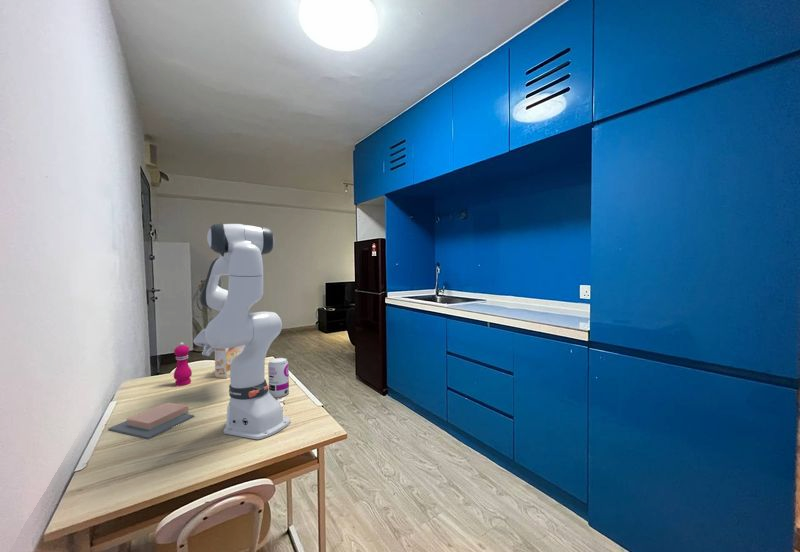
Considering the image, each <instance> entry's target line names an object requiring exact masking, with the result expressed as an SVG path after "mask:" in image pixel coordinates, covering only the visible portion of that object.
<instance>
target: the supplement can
mask: <svg viewBox="0 0 800 552" xmlns="http://www.w3.org/2000/svg"><path fill="white" fill-rule="evenodd" d="M267 366H268V369H267V370H268V385H270V386H269V387H270V388H269V387H268V389H269V390H268V391H269V393H270V394H271V395H272V396H273V397H274V398H275V397H277V398H282V397H281V396H283V397H285V396H287V395H288V394H289V392H290V377H289V376H290V374H289V371H290V370H289V361H288V359H287V358H286V357H276V358H273V359H270V360H269V363H267Z"/></svg>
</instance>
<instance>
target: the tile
mask: <svg viewBox="0 0 800 552" xmlns="http://www.w3.org/2000/svg"><path fill="white" fill-rule="evenodd" d="M184 414H189V405H185V404H179V403H174V402H165V403H162V404H160V405H157V406H155V407H152V408H150V409H148V410H146V411H142V412H141V413H138V414H135V415H133V416H131V417H129V418H126V421H127V426H130V427H135V428H139V429H144V430H149V431H150V430H152V429H154V428H156V427H158V426H160V425H162V424H165V423H167V422H169V421H171V420H173V419H175V418H177V417H179V416H182V415H184Z"/></svg>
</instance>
